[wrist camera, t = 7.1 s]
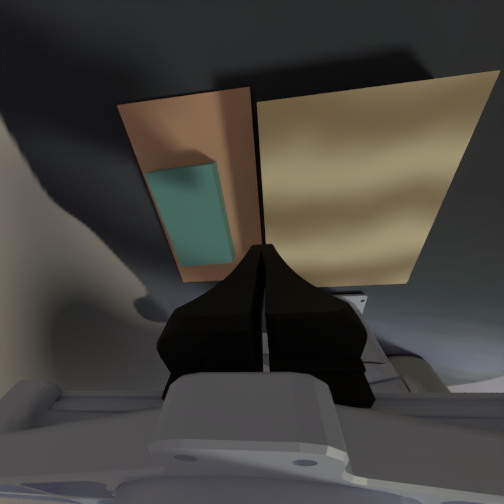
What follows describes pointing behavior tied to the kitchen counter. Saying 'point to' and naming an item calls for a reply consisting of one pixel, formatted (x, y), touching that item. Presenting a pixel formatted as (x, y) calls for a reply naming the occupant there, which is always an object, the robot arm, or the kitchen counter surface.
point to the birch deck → (363, 174)
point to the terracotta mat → (203, 158)
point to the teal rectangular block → (193, 213)
